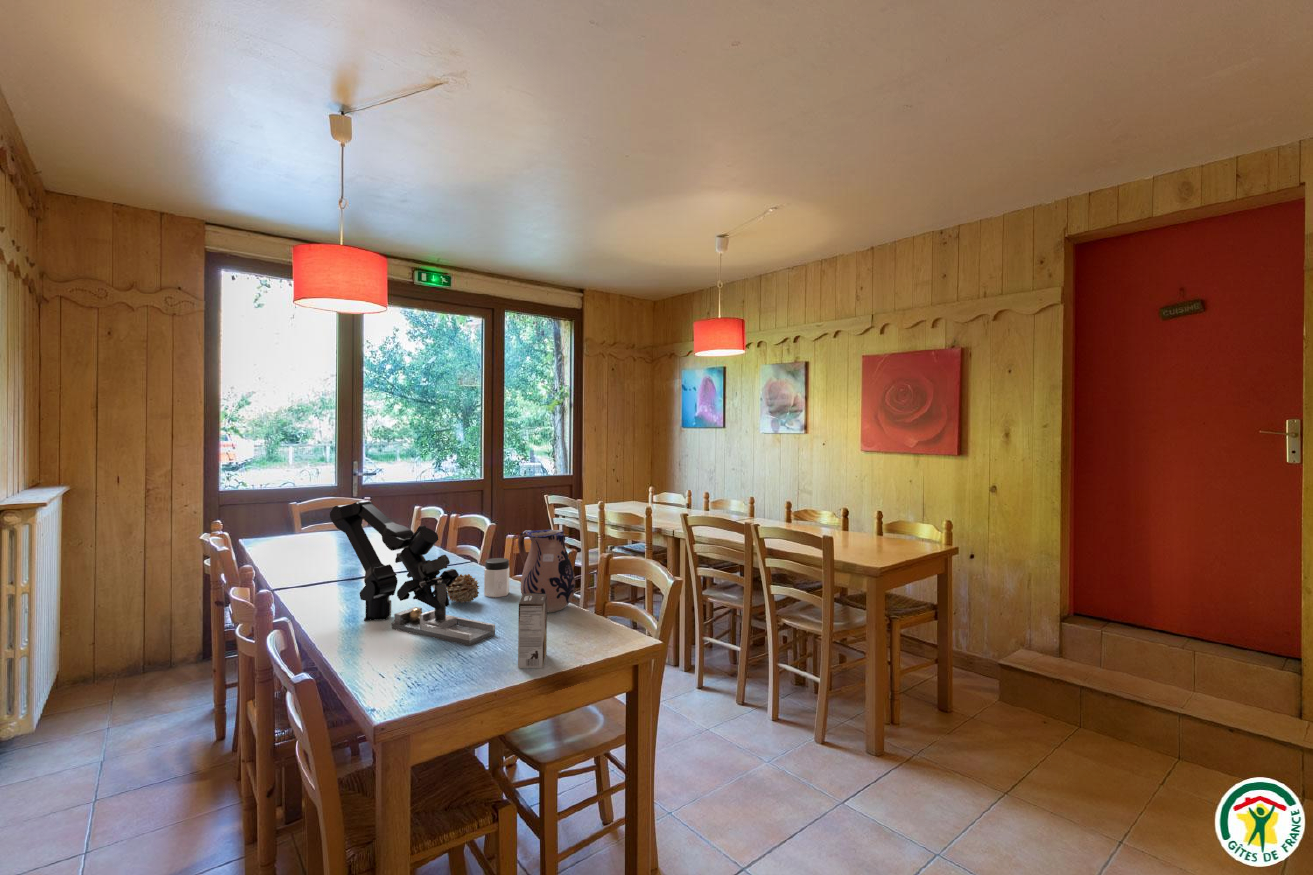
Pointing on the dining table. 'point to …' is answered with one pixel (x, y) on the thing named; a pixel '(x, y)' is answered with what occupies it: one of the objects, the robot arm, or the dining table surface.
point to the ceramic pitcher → (547, 568)
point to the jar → (496, 577)
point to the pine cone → (463, 589)
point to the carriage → (435, 615)
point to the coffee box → (532, 630)
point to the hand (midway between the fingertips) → (443, 607)
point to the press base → (459, 633)
